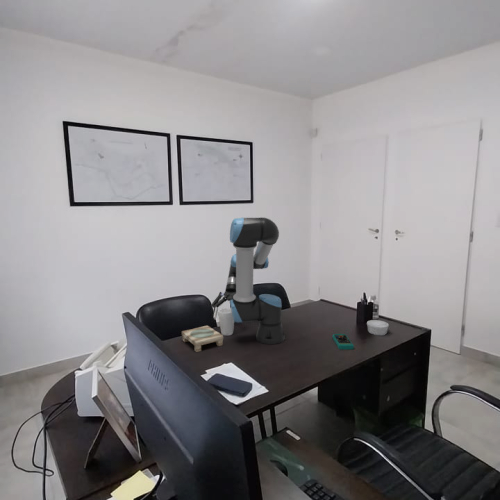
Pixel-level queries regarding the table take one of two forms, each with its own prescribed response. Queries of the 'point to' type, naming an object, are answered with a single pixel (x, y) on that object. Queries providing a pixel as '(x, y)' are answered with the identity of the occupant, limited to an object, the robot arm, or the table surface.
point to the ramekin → (377, 327)
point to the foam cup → (226, 321)
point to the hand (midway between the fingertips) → (226, 319)
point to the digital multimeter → (342, 341)
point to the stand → (202, 337)
